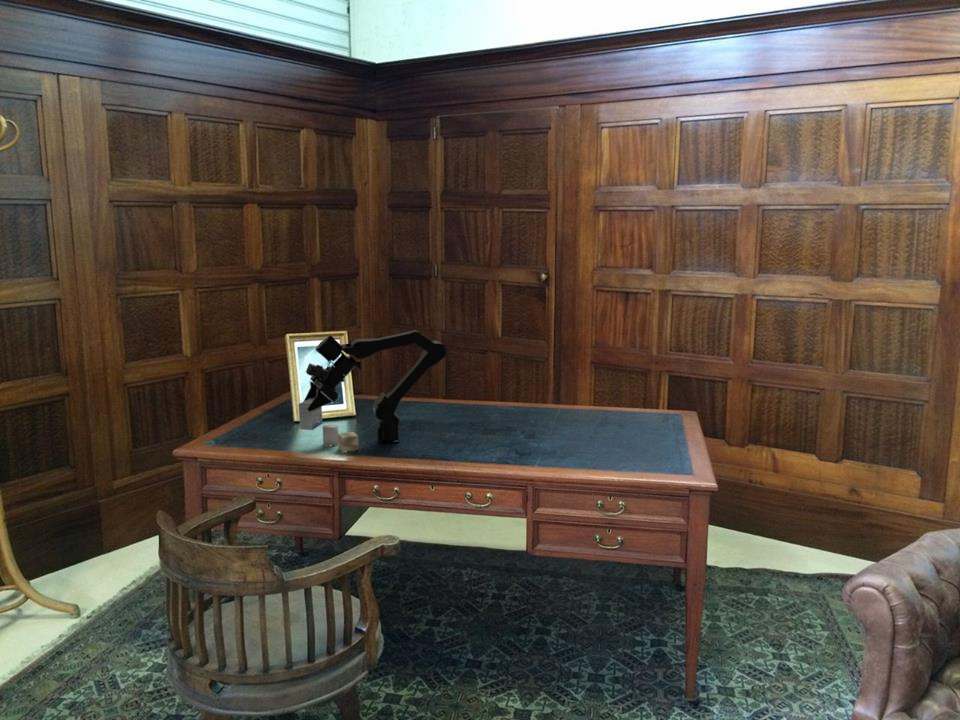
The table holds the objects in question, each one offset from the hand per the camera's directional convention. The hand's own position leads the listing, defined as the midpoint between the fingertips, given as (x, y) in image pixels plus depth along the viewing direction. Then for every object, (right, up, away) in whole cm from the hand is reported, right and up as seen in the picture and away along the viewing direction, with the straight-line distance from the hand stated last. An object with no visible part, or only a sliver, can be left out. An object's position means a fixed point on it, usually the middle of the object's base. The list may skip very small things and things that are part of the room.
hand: (306, 407), depth 254 cm
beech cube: (+14, -14, 0) cm, 19 cm away
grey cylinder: (+7, -12, +6) cm, 16 cm away
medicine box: (+1, -7, +2) cm, 7 cm away
